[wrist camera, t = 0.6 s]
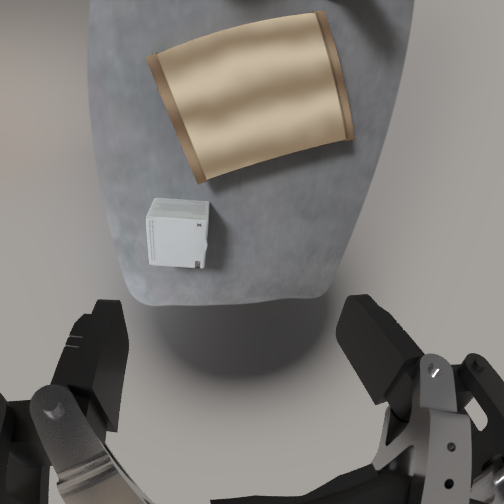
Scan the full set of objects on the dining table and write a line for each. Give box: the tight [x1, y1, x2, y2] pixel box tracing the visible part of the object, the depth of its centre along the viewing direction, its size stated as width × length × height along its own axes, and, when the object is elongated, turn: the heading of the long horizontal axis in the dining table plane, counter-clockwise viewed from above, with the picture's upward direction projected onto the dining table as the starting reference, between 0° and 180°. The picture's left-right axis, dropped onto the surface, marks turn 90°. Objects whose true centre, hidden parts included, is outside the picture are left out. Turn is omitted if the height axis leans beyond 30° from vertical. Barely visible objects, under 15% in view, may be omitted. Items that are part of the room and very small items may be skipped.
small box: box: [146, 198, 210, 268], centre depth 36 cm, size 8×8×5 cm
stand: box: [146, 11, 355, 184], centre depth 27 cm, size 16×20×3 cm
